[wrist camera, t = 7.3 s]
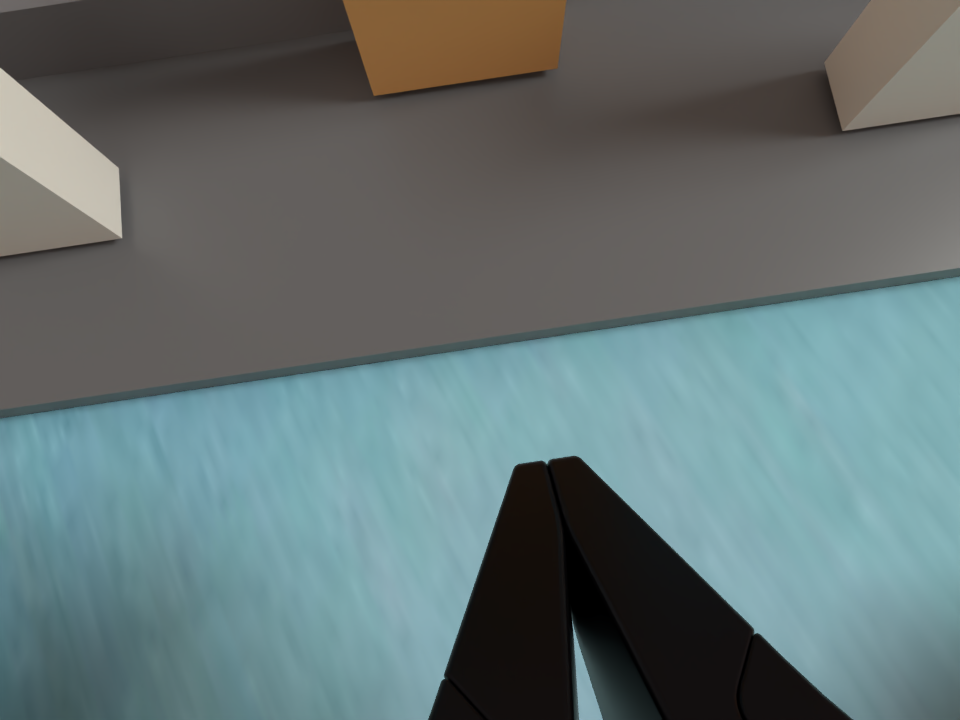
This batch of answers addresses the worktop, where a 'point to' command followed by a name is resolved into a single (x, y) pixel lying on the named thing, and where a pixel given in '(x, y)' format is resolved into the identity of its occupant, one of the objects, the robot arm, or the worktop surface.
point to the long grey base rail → (445, 189)
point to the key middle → (453, 40)
